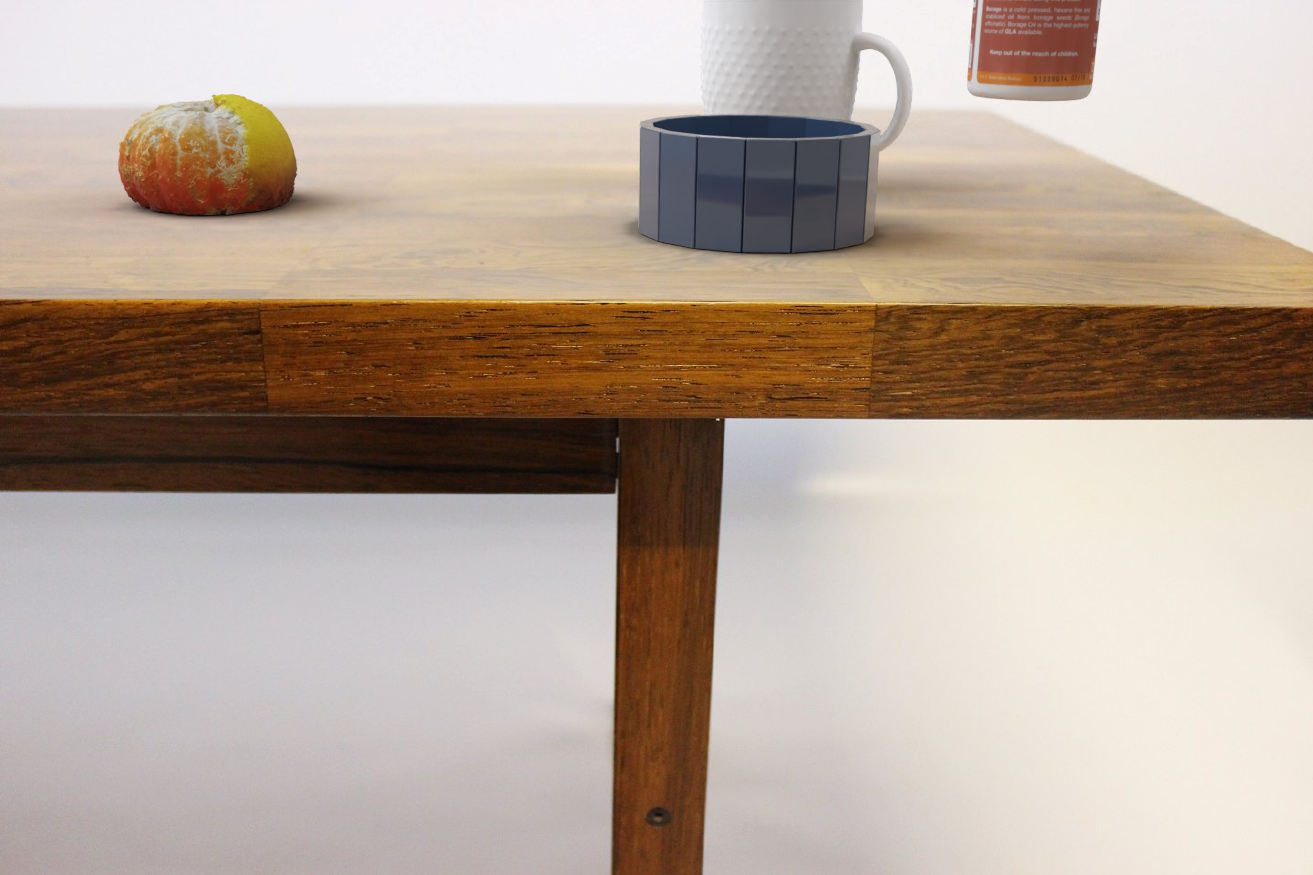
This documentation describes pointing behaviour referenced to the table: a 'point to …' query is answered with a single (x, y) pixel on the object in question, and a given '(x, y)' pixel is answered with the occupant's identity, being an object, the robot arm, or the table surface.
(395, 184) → the table surface
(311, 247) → the table surface
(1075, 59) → the pill bottle
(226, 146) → the fruit
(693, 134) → the pot
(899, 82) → the mug
